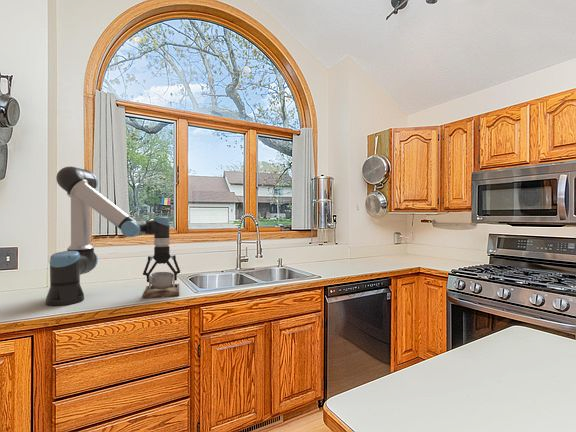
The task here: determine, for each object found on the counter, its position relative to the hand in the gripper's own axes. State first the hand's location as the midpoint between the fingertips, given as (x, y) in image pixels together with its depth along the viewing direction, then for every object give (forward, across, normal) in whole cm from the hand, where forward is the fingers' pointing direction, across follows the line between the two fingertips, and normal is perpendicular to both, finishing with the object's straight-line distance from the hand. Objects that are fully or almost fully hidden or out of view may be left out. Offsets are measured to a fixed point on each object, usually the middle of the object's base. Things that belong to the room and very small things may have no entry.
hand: (162, 287), depth 172 cm
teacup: (+1, -1, 0) cm, 1 cm away
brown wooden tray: (+3, 0, 0) cm, 3 cm away
